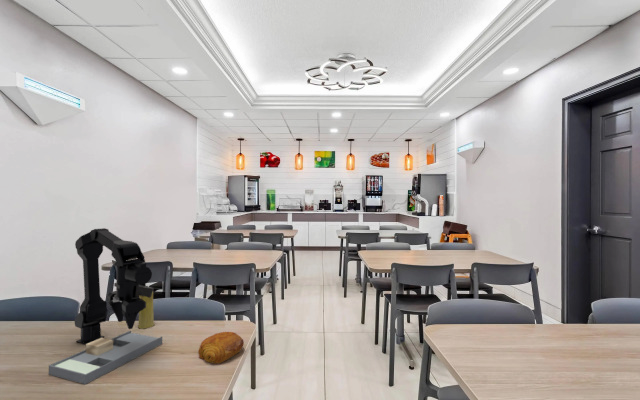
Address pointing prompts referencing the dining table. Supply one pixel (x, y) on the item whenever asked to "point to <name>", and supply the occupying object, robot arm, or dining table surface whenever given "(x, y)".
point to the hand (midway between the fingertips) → (125, 325)
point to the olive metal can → (146, 313)
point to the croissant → (220, 347)
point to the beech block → (99, 346)
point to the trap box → (104, 358)
